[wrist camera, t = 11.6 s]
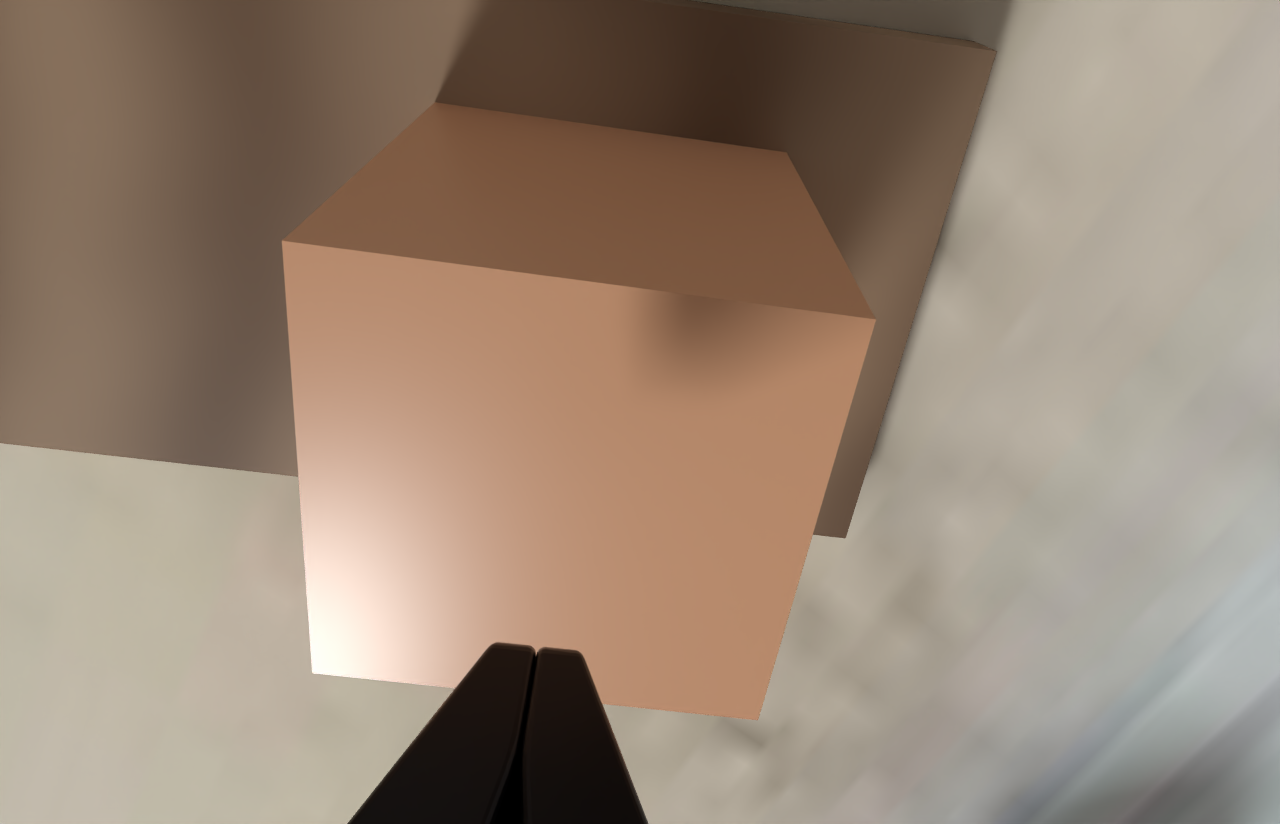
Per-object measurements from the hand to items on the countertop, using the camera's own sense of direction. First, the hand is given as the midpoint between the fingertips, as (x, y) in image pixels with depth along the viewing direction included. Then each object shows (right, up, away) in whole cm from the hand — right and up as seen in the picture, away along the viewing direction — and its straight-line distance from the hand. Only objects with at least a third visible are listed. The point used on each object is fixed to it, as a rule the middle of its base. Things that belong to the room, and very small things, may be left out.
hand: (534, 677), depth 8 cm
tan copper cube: (0, +5, +8) cm, 9 cm away
